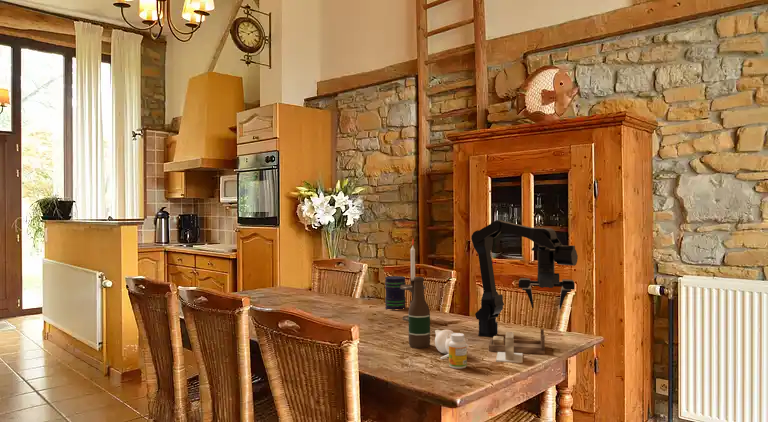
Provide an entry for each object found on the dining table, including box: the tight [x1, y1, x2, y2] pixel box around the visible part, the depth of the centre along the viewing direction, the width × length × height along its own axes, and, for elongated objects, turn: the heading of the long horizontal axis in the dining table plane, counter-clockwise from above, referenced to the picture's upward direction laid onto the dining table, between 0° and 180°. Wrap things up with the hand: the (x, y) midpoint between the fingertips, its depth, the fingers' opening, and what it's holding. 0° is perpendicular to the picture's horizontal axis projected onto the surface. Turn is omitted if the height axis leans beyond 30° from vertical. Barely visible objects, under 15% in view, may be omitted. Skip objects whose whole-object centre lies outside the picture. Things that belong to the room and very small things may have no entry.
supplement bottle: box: [448, 332, 468, 370], centre depth 167 cm, size 5×5×10 cm
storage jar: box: [384, 275, 407, 310], centre depth 263 cm, size 10×10×15 cm
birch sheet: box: [504, 331, 515, 360], centre depth 175 cm, size 2×8×7 cm, turn 166°
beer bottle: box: [407, 276, 431, 349], centre depth 192 cm, size 8×8×24 cm
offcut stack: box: [492, 335, 505, 345], centre depth 188 cm, size 4×7×2 cm, turn 166°
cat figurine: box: [434, 329, 470, 360], centre depth 180 cm, size 9×11×12 cm
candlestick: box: [400, 237, 427, 322], centre depth 237 cm, size 11×11×35 cm
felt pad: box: [495, 352, 524, 364], centre depth 176 cm, size 8×10×1 cm
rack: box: [488, 328, 546, 355], centre depth 187 cm, size 18×10×6 cm, turn 76°
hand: (546, 308), depth 193 cm, fingers open, 9 cm apart
